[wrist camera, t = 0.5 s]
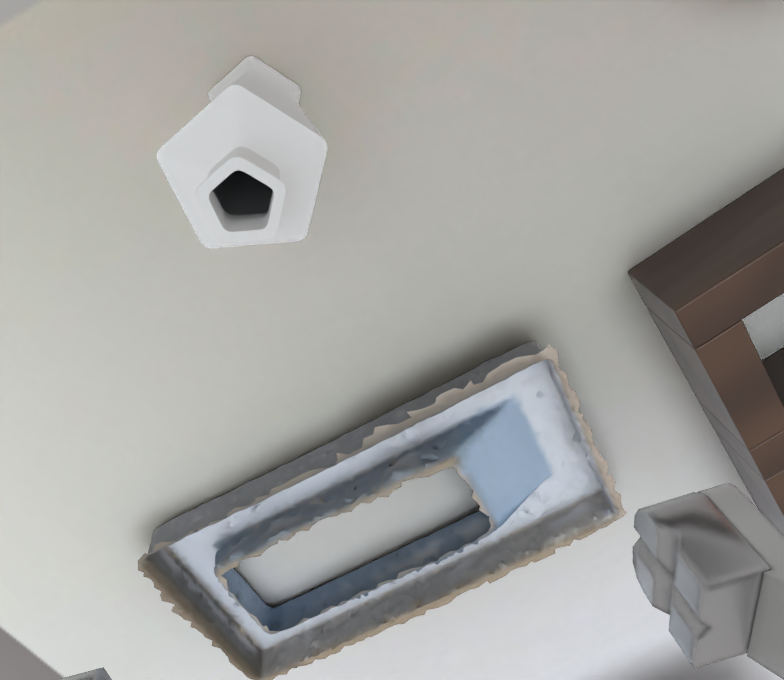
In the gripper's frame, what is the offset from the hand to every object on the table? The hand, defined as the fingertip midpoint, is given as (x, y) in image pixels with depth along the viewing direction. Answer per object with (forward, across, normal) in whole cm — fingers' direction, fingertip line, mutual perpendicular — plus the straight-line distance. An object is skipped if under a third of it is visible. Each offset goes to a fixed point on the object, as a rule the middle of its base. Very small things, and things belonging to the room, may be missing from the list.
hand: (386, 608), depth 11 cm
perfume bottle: (+25, 0, -2) cm, 25 cm away
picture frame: (+23, -2, +21) cm, 31 cm away
